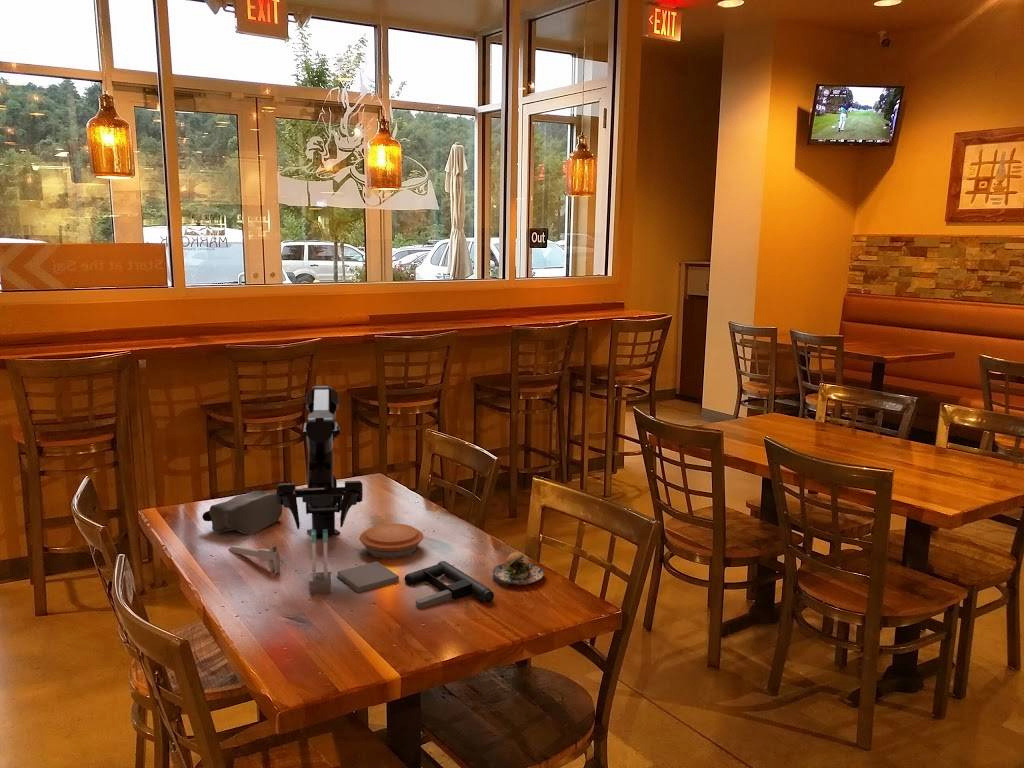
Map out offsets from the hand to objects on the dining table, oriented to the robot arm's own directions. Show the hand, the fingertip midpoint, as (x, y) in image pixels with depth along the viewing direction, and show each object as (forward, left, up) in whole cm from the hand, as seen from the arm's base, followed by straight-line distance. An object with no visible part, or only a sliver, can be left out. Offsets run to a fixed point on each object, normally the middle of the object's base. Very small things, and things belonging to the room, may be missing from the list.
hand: (319, 527), depth 179 cm
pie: (-7, +22, -13) cm, 26 cm away
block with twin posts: (+4, -2, -12) cm, 13 cm away
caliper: (-19, -8, -13) cm, 24 cm away
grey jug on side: (-43, -2, -13) cm, 44 cm away
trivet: (+5, +9, -12) cm, 16 cm away
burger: (+24, +37, -13) cm, 46 cm away
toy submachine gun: (+21, +19, -13) cm, 31 cm away
